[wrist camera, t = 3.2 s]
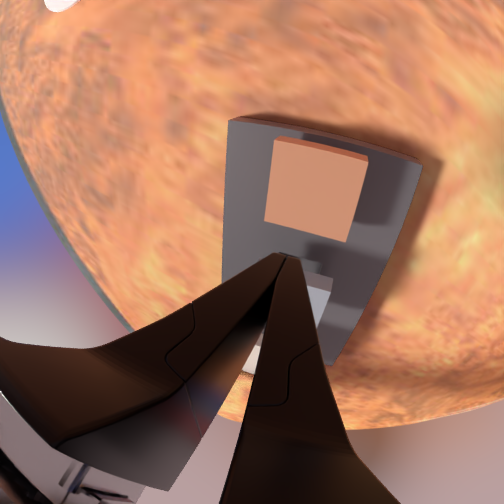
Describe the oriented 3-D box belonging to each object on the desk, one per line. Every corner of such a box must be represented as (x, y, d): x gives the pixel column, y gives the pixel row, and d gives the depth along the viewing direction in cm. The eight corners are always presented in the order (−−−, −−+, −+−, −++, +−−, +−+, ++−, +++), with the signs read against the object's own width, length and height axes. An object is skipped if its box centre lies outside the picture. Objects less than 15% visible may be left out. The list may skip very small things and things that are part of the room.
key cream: (297, 364, 23) (290, 385, 22) (249, 349, 24) (240, 369, 22) (309, 336, 21) (303, 359, 19) (254, 319, 22) (244, 341, 20)
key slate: (317, 315, 19) (311, 340, 17) (257, 297, 20) (246, 320, 18) (335, 267, 16) (330, 292, 15) (264, 247, 17) (252, 269, 16)
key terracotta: (347, 222, 16) (345, 242, 14) (275, 203, 17) (264, 220, 15) (366, 150, 13) (368, 162, 11) (285, 131, 14) (274, 139, 12)
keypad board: (334, 353, 25) (332, 366, 24) (227, 321, 27) (221, 332, 26) (417, 158, 13) (422, 165, 12) (238, 116, 16) (228, 120, 14)
